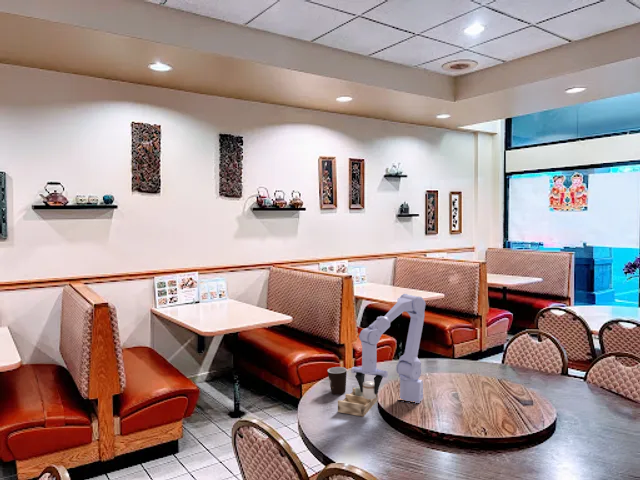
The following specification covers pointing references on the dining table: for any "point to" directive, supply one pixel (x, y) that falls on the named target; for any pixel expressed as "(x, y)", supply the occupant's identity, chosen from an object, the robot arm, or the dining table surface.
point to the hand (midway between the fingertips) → (369, 392)
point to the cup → (369, 390)
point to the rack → (356, 403)
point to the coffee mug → (337, 380)
